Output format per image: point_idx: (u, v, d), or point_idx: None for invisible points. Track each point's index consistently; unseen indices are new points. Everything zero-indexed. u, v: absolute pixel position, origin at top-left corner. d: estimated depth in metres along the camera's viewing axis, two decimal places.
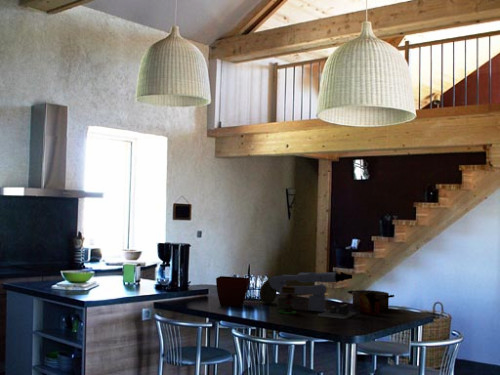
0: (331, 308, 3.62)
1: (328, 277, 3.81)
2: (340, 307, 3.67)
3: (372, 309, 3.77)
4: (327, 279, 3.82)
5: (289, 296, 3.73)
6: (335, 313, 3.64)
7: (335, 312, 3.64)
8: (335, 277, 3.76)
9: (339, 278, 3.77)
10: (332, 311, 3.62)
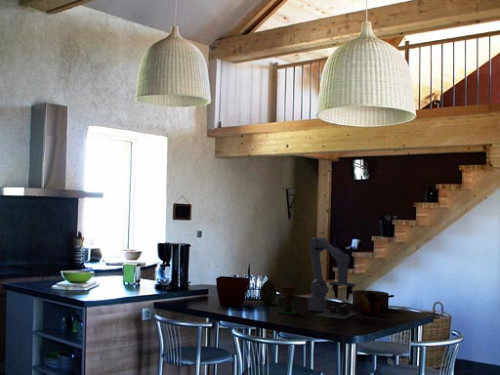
0: (331, 308, 3.62)
1: None
2: (340, 307, 3.67)
3: (372, 309, 3.77)
4: None
5: (289, 296, 3.73)
6: (335, 313, 3.64)
7: (335, 312, 3.64)
8: None
9: None
10: (332, 311, 3.62)
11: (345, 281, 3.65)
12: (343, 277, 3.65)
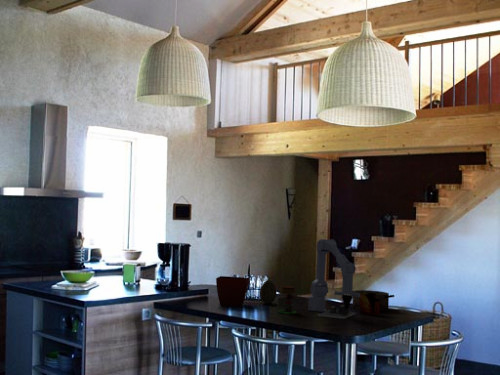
0: (331, 308, 3.62)
1: None
2: (340, 307, 3.67)
3: (372, 309, 3.77)
4: None
5: (289, 296, 3.73)
6: (335, 313, 3.64)
7: (335, 312, 3.64)
8: None
9: None
10: (332, 311, 3.62)
11: (350, 291, 3.59)
12: (348, 287, 3.58)
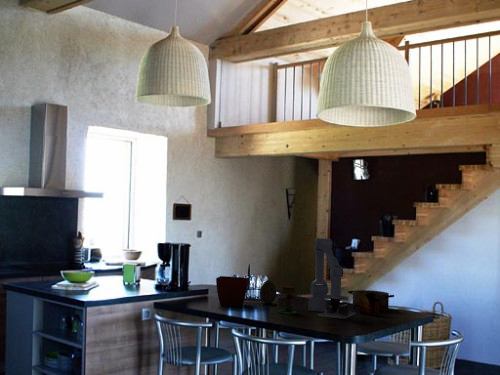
0: (328, 308, 3.63)
1: None
2: (340, 307, 3.67)
3: (372, 309, 3.77)
4: None
5: (289, 296, 3.73)
6: (332, 313, 3.65)
7: (332, 312, 3.65)
8: None
9: None
10: (329, 311, 3.63)
11: (338, 294, 3.62)
12: (336, 290, 3.61)
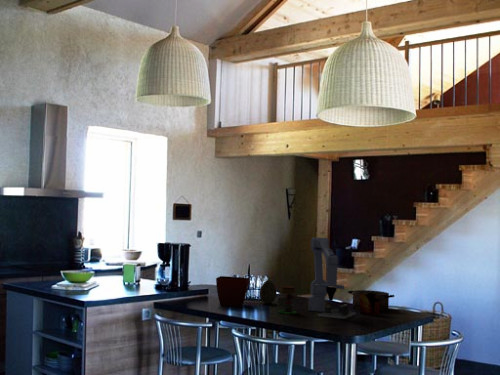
0: (326, 307, 3.64)
1: None
2: (340, 307, 3.67)
3: (372, 309, 3.77)
4: None
5: (289, 296, 3.73)
6: (330, 312, 3.65)
7: (330, 311, 3.65)
8: (320, 287, 3.68)
9: None
10: (327, 310, 3.63)
11: (334, 283, 3.63)
12: (332, 279, 3.63)
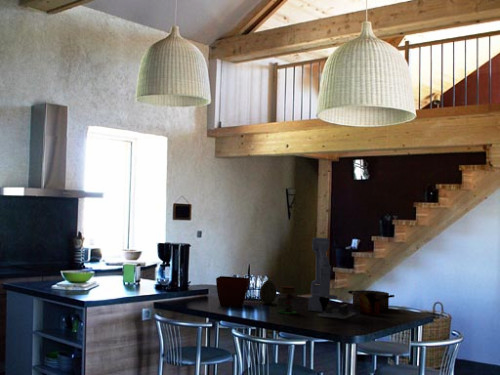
0: (326, 308, 3.64)
1: None
2: (340, 307, 3.67)
3: (372, 309, 3.77)
4: None
5: (289, 296, 3.73)
6: None
7: (330, 312, 3.65)
8: (314, 297, 3.69)
9: None
10: (327, 311, 3.63)
11: (327, 293, 3.64)
12: (325, 289, 3.64)
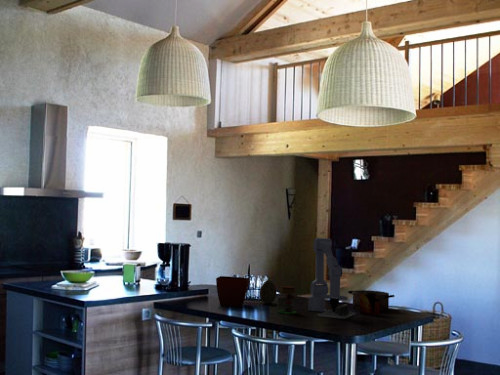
0: (336, 309, 3.61)
1: None
2: None
3: (372, 309, 3.77)
4: None
5: (289, 296, 3.73)
6: (340, 314, 3.63)
7: (340, 313, 3.63)
8: (324, 298, 3.66)
9: None
10: (337, 312, 3.61)
11: (337, 294, 3.62)
12: (335, 290, 3.61)
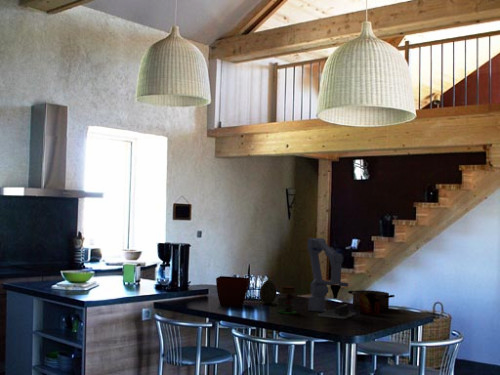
0: (336, 309, 3.61)
1: None
2: None
3: (372, 309, 3.77)
4: None
5: (289, 296, 3.73)
6: (340, 314, 3.63)
7: (340, 313, 3.63)
8: (325, 284, 3.72)
9: None
10: (337, 312, 3.61)
11: (338, 280, 3.67)
12: (336, 276, 3.67)
